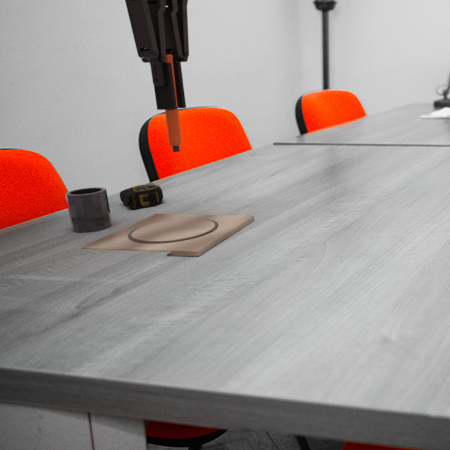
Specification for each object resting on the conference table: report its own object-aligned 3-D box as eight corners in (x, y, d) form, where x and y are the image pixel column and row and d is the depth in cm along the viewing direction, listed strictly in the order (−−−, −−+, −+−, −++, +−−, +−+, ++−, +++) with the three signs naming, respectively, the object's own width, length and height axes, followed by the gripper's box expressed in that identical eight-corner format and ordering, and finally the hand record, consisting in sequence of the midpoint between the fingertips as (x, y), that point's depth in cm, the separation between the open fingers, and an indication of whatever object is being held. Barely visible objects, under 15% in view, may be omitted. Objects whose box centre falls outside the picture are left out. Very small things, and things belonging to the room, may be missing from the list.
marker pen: (167, 152, 85) (156, 54, 81) (174, 150, 87) (163, 54, 83) (178, 152, 85) (167, 54, 81) (185, 150, 86) (174, 54, 82)
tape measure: (120, 207, 106) (117, 187, 105) (159, 200, 110) (156, 181, 109) (128, 214, 101) (125, 193, 100) (168, 207, 105) (165, 187, 104)
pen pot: (65, 235, 89) (56, 195, 87) (90, 225, 95) (83, 187, 93) (96, 236, 88) (88, 195, 86) (120, 226, 94) (113, 187, 92)
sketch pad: (82, 252, 81) (80, 245, 81) (156, 218, 98) (155, 212, 98) (198, 256, 78) (197, 249, 77) (254, 220, 95) (253, 214, 94)
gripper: (139, -83, 70) (166, 113, 76) (201, -60, 84) (219, 104, 90) (85, -79, 71) (116, 113, 78) (155, -57, 85) (176, 104, 92)
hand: (171, 108), depth 84 cm, fingers closed on marker pen, 2 cm apart
